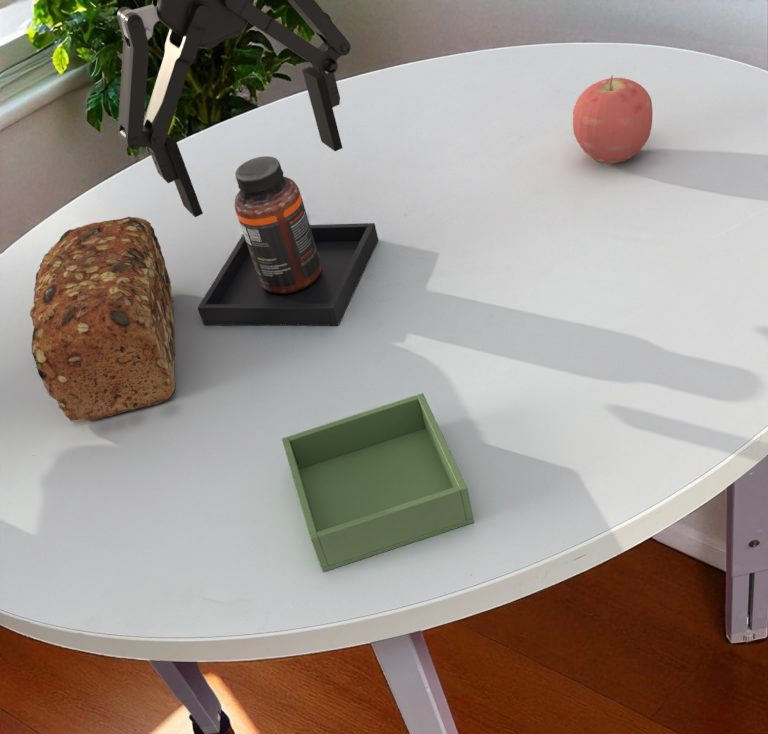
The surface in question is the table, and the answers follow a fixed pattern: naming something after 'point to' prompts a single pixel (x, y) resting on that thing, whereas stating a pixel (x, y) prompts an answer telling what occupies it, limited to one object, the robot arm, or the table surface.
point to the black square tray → (304, 307)
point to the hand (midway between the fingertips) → (263, 177)
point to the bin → (376, 482)
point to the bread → (104, 320)
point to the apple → (613, 119)
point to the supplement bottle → (275, 227)
